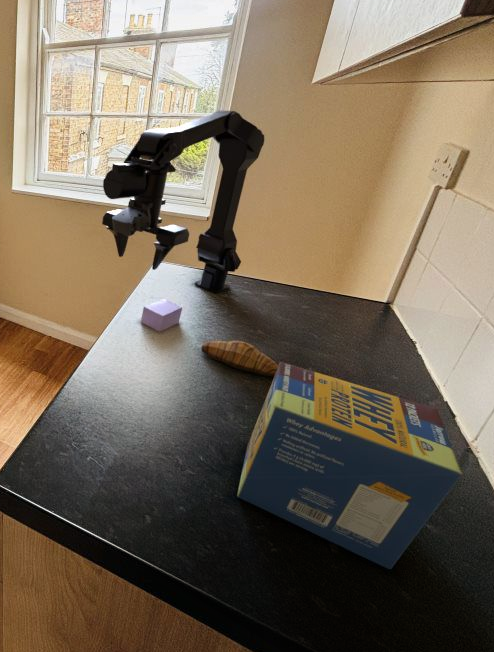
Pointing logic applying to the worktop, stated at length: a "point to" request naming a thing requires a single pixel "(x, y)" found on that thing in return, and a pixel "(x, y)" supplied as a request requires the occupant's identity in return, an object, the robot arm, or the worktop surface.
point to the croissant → (240, 356)
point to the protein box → (348, 462)
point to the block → (161, 315)
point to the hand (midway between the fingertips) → (137, 262)
